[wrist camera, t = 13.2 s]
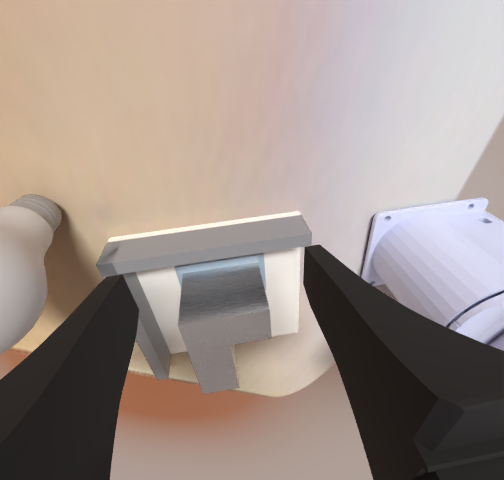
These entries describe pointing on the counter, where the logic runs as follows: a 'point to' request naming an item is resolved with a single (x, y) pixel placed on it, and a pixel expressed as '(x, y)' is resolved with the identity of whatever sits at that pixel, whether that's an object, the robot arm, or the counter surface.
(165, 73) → the counter surface
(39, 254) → the lightbulb
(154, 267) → the white tray
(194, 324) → the bracket
